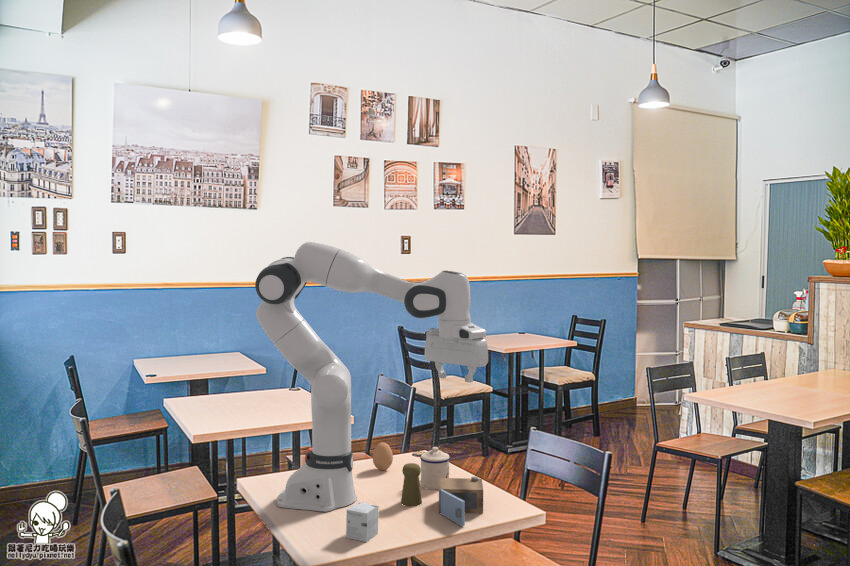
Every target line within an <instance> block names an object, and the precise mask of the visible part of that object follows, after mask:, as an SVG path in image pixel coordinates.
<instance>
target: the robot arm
mask: <svg viewBox="0 0 850 566" xmlns="http://www.w3.org/2000/svg"><path fill="white" fill-rule="evenodd" d="M307 283H315V284H318V285H320V286H324V287H326V288H328V289H332V290H335V291H340V292H343V293H349V294H352V293H366V292H367V293H371V294H372V293H373V294H377V295H380V296H384V297H385V298H386V297H387V298H389V299H392V300H395V301H398V302H400V303H402V304H404V307H405V309H406V312H408V314H409V315H411V316H412V317H414V318H416V319H419V320H420V319H427V318H431V317H436V316H437V317H438V328H435V327H431V328H429V329H428V331H426V336H425V337H426V339H425V343H424V358H425V361H427V362H434V366H435V368H436V370H437V375H438V378H439V379H446V378H447V371H445V370H444V367H443V365H444V364H451V365H459V366H464V367H465V366H466V367H467V370H468V372H467V375H464V382H465V383H469V384H470V383H473V382H474V375H475V373H476V371H477V368H483V367H486V366H487V364H488V363H489V347H488V346H489V345H488V343H487V340H486V339H485V338H486V337H487V330H486V329H484V328H482V327H480V326H478V325H476V324H475V323H473V322H472V317H471V313H470V307H471V304H472V303H471V301H472V300H471V299H472V298H471V285H470V280H469V278H468V277H467V275H466V274H464V273H462V272H457V271H453V270H442V271H441V272H439V273H438V274H436V275H434V276H433V277H431V278H428V279H426V280H423V281H421V280H420V281H410V280H405V279H403V278H400V277H397V276H394V275H391V274H389V273H386V272H384V271H381V270H379V269H377V268H376V267H374V266H372V265H371V264H370V263H368V262H366V261H365V260H363V259H362V258H360V257H358V256H357V255H354V254H353V253H350V252H349V251H346V250H343V249H341V248H338V247H334V246H332V245H328V244H324V243H319V242H312V241H308V242H304V243H303V244H301V245H300V246H299V247H298V249H297V250H296V251H295V255H294V257H293V256H284V257H282V258H279V259H276V260H275V261H273V262H271V263H269V265H267V266H266V267H265V268H262V270H261V271H260V272H259V273H258V275H257V277H256V279H255V284H254V285H255V287H254V288H255V292H256V293H257V295H258V297H259V298H260V299H261V300H262V301H261V302H260V303H259V305H258V307H257V309H256V312H255V316H256V319H257V321H258V323H259V324H260V327H261V328H262V330H263V331H264V334H265V335H266V336H267V338H268V339H269V340H270V342H271V343H273V345H274V347H275V348H277V349H276V350H278V351H279V352H280V354H281V355H282V356H283V357H284V359H285V360H286V361H287V362H288V363H289V365H290V366H291V367H293V368H294V369H295V370H296V371H297V372H298V373H299V374H300V375H302V377H303V378H304V379H305V380H306V381H307V382H308V383H309V384H310V398H311V399H310V402H311V405H310V407H311V424H312V425H311V426H312V427H311V429H312V430H311V432H312V433H311V439H312V440H311V441H312V442H311V444H312V445H311V446H312V447H308V449H307V450H306V452H305V456H304V462H305V464H303V465H302V466H301V467H299V468H298V469H297V470H295V471H294V472H292V474H290V476H289V477H288V479H287V481H286V484H285V488H284V490H282V491H281V492H280V493H279V495H278V496H277V499H276V504H277V506H278V507H279V508H283V509H284V508H286V509H295V510H297V509H298V510H303V511H315V512H316V511H317V512H325V513H328V512H331V511H333V510H336V509H339V508H344V507H347V506H349V505H351V504H353V503H354V502H356V501H357V497H358V496H357V494H356V489H355V485H354V478H353V469H354V454H353V449H352V376H351V373H350V370H349V369H348V367H347V366H346V365H345V364H344V363H343V361H341V359H340V358H339V357H338V356H337V355H336V354H335V353H334V351H332V350H331V349H330V347H328V345H327V344H326V343H325V342H324V341H323V340H322V339H321V337H320V336H319V335H318V334H317V332H315V330H314V329H313V328H312V326H311V325H310V324H309V322H308V321H307V320H306V319H305V318H304V317H303V315H302V314H301V313H300V312H299V310H298V309H297V307H296V305H295V300H296V299H297V298H298V297H299V295H300V294H301V293H302V291H303V290H304V289H305V287H306V285H307Z"/></svg>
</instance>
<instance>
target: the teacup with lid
mask: <svg viewBox="0 0 850 566" xmlns="http://www.w3.org/2000/svg"><path fill="white" fill-rule="evenodd" d="M419 458H420V468H421V472H420V487H422V486H423V487H422V488H424V489H426V488H427V490H431V489H439V485H440V478H450V459H451V456H450V455H449V454H448V453H446V452H444V451H442V450H440V449H439V447H438V446H433V447H432V448H431V450H430V449H429V450H428V451H427V452H424V453H422V454H421V455H420V457H419Z"/></svg>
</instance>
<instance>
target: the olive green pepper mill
mask: <svg viewBox="0 0 850 566" xmlns="http://www.w3.org/2000/svg"><path fill="white" fill-rule="evenodd" d="M401 471H402V475H403V477H404V478H403V485H402V491H401V492H402V493H401V499H400V503H401V505H402V504H403V506H404V505H405V507H418V505H419V506H420V504H421V505H422V503H423V500H422V492H421V491H422V490H421V481H420V476H421V465H419V464H418V463H414V462H409V463H406V464H404V465H403V467H402V470H401Z"/></svg>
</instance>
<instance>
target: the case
mask: <svg viewBox="0 0 850 566" xmlns="http://www.w3.org/2000/svg"><path fill="white" fill-rule="evenodd" d="M439 489H443V490H445V491H446V492H448V493H450V494H452V495H454V496H456V497H458V498H460V499H462V500H463V501H465V514H484V485H483V480H482V478H479V477H478V476H471V477H470V478H466V477H465V478H460V477H459V478H458V477H457V478H455V477H454V478H453V477H452V478H451V477H449V478H440V485H439Z"/></svg>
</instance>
